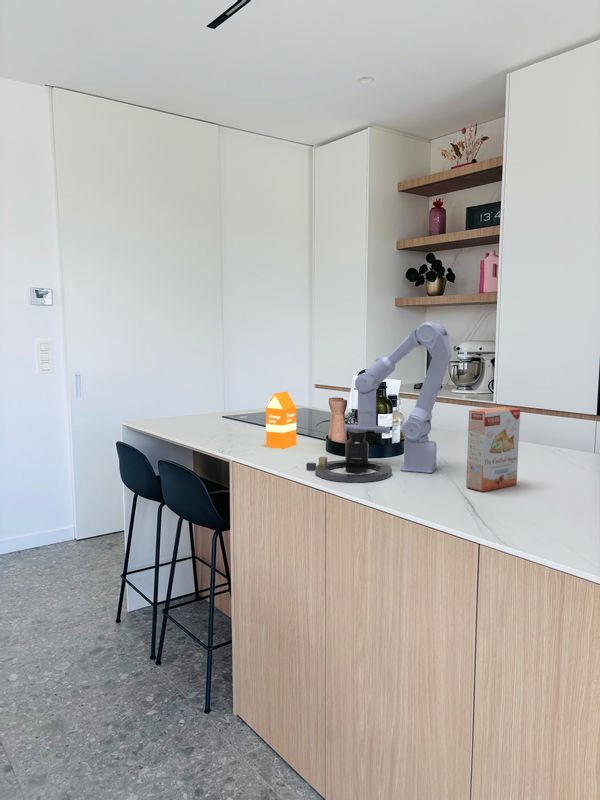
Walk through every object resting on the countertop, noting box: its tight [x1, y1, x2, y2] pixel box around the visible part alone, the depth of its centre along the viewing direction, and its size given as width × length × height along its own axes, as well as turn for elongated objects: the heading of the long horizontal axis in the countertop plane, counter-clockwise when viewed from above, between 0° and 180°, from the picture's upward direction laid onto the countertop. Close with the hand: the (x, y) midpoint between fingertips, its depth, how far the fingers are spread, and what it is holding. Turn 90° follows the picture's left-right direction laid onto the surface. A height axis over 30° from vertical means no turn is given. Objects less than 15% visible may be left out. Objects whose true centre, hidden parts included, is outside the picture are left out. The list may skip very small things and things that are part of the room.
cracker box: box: [465, 406, 521, 492], centre depth 154 cm, size 14×6×21 cm, turn 123°
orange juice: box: [265, 391, 297, 450], centre depth 214 cm, size 8×9×20 cm
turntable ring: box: [315, 456, 393, 483], centre depth 171 cm, size 22×22×4 cm
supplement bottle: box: [344, 430, 369, 474], centre depth 173 cm, size 7×7×12 cm
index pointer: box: [305, 461, 317, 471], centre depth 176 cm, size 2×2×2 cm
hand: (366, 454), depth 183 cm, fingers closed
